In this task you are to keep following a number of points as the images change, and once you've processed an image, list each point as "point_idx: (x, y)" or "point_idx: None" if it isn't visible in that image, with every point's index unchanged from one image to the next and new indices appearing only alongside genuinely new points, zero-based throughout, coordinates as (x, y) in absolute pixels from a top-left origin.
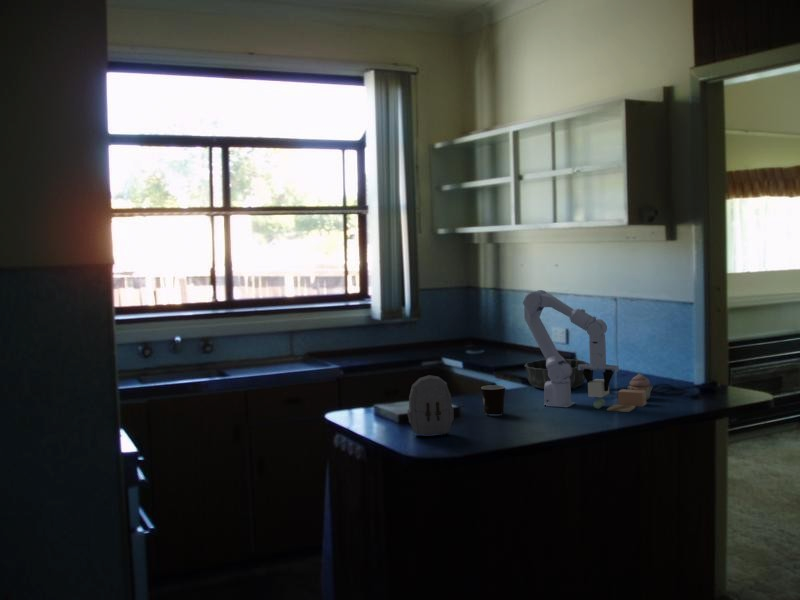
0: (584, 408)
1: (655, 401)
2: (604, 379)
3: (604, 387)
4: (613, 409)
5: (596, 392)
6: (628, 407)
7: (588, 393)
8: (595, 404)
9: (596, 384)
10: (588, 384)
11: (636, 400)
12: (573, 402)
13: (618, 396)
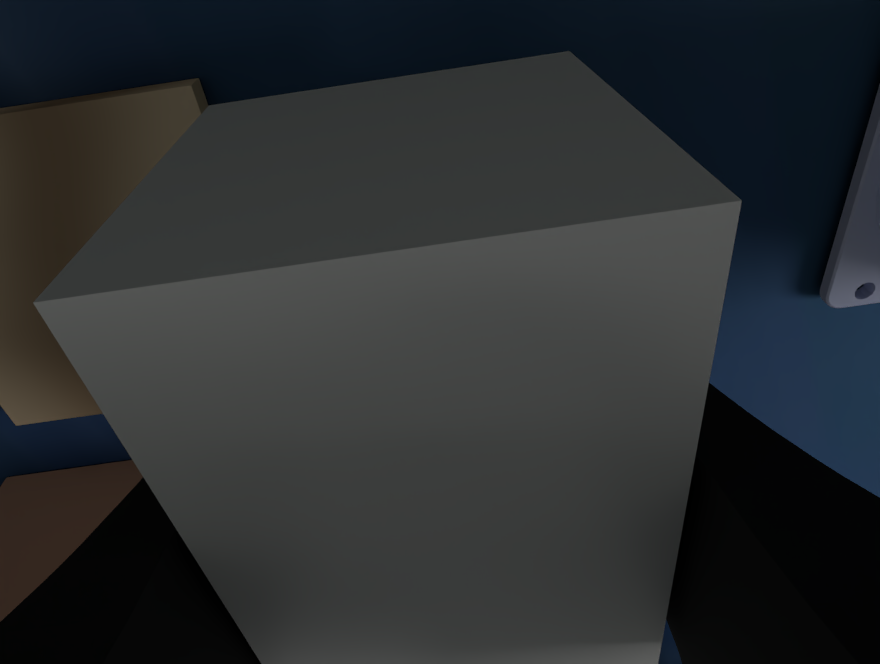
0: (610, 69)
1: None
2: (97, 645)
3: None
4: (77, 102)
5: (333, 120)
6: (1, 317)
7: (580, 72)
8: None
9: (294, 241)
10: (675, 172)
11: (46, 524)
12: (844, 287)
13: None
